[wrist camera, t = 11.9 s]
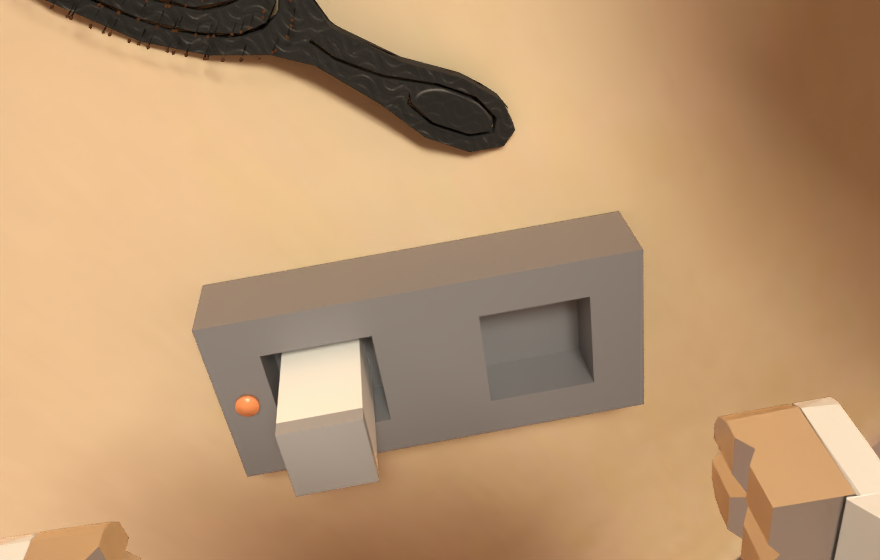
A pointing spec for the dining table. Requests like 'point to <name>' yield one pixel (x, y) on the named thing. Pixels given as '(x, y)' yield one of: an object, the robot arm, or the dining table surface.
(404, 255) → the power strip
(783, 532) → the robot arm
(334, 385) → the plug
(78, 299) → the dining table surface
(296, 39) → the hairbrush
